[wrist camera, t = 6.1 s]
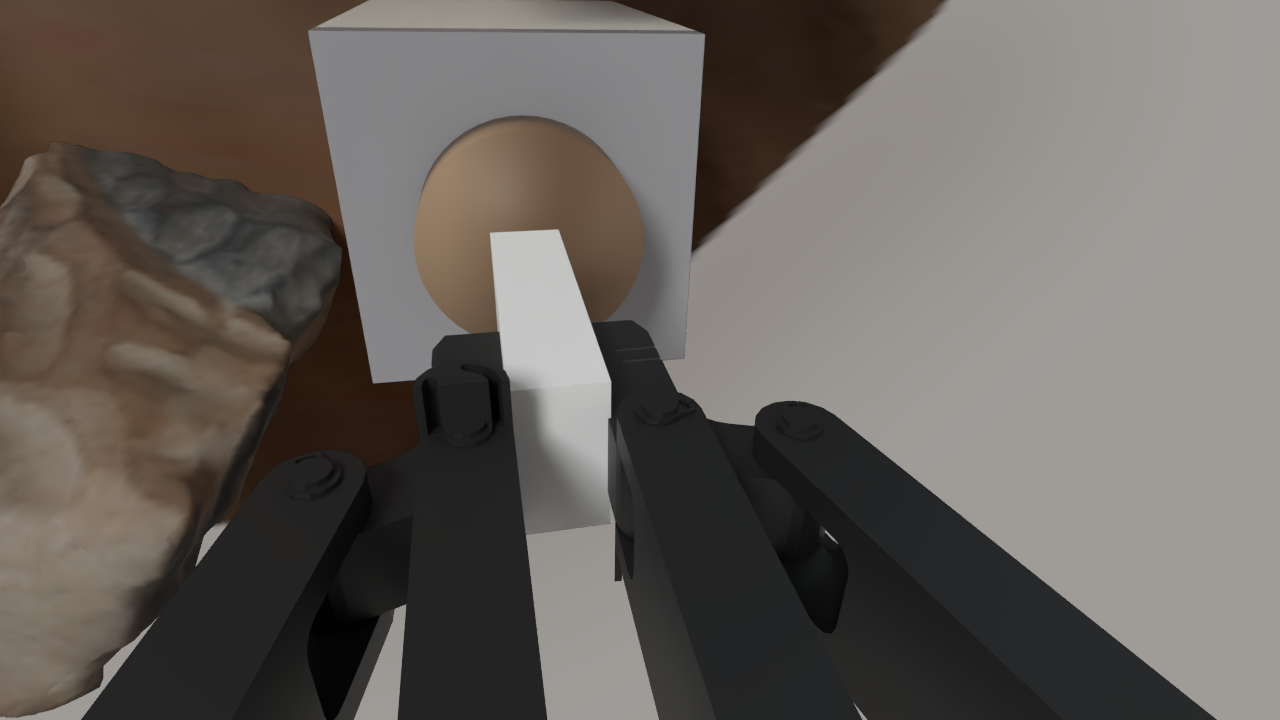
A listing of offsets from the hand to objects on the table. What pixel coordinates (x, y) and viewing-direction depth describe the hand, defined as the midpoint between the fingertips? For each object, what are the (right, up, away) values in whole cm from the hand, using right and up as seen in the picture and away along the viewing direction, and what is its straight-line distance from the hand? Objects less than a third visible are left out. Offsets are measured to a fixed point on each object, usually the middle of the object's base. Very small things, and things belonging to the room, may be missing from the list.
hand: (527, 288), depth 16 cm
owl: (-19, +3, +18) cm, 26 cm away
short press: (-4, +10, +17) cm, 20 cm away
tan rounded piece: (-3, +9, +16) cm, 19 cm away
